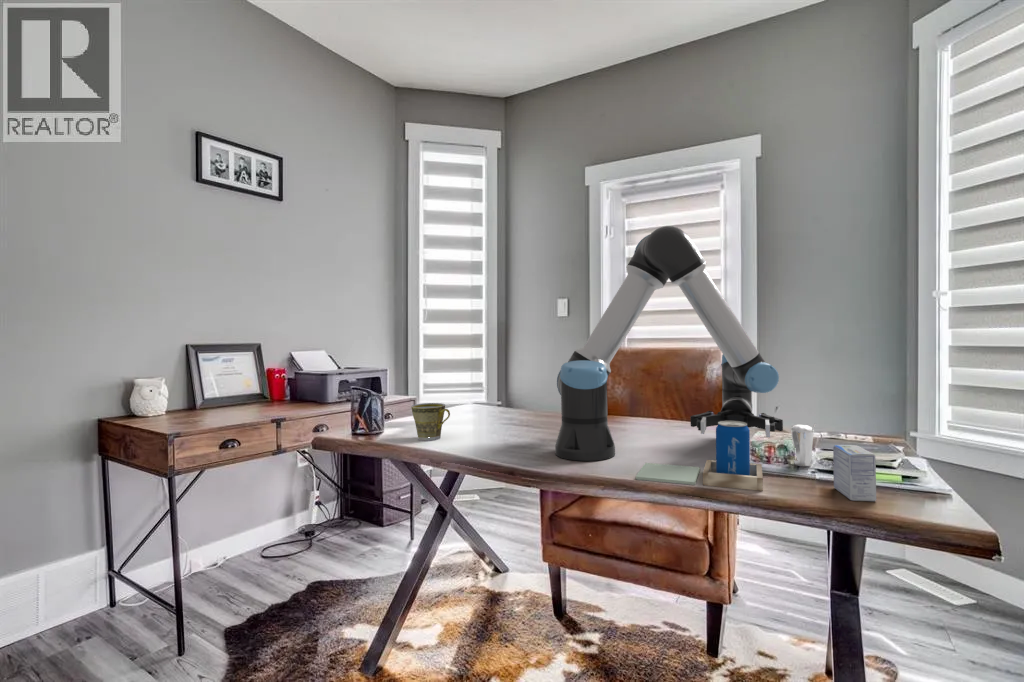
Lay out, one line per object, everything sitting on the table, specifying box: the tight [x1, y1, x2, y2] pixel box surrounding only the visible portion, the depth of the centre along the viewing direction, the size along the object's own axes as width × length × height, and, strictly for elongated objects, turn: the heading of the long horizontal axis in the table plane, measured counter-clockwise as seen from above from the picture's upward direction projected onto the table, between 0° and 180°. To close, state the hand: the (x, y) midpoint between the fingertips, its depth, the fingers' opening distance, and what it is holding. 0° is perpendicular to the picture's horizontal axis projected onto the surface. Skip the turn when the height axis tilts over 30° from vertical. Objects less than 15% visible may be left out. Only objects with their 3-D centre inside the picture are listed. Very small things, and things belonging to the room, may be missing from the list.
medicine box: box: [832, 444, 877, 503], centre depth 101 cm, size 8×4×9 cm, turn 168°
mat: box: [635, 462, 701, 486], centre depth 117 cm, size 12×12×1 cm
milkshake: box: [790, 422, 817, 467], centre depth 122 cm, size 4×5×10 cm
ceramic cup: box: [411, 402, 451, 442], centre depth 159 cm, size 13×10×10 cm
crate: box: [702, 459, 764, 492], centre depth 111 cm, size 11×11×2 cm
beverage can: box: [715, 421, 751, 476], centre depth 111 cm, size 6×6×12 cm
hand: (734, 429), depth 120 cm, fingers open, 13 cm apart
